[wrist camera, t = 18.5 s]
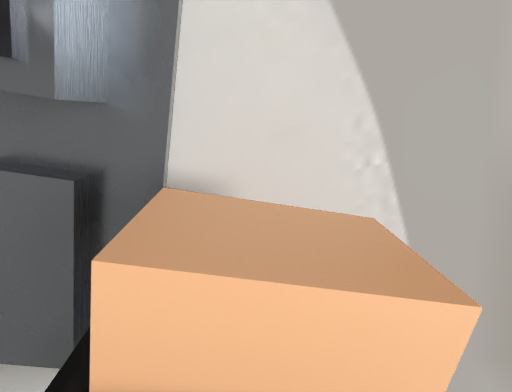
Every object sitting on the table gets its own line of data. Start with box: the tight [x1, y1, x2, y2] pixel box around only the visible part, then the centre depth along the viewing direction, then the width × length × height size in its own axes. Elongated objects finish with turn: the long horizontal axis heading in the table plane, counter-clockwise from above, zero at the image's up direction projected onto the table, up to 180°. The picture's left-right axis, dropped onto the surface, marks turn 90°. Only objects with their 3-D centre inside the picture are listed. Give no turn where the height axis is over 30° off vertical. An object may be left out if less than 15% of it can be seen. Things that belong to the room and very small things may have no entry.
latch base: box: [0, 0, 183, 369], centre depth 11 cm, size 20×10×4 cm, turn 170°
